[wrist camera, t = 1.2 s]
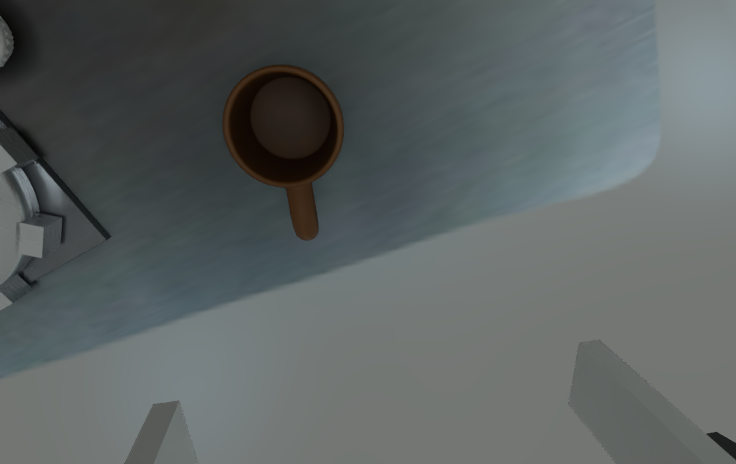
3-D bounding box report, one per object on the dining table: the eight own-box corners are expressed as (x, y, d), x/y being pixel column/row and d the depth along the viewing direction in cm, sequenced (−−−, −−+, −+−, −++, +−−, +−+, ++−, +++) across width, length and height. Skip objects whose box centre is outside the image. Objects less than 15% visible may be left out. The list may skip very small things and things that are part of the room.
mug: (350, 204, 36) (363, 241, 27) (267, 218, 35) (253, 261, 26) (328, 63, 32) (335, 54, 23) (233, 76, 31) (203, 72, 22)
